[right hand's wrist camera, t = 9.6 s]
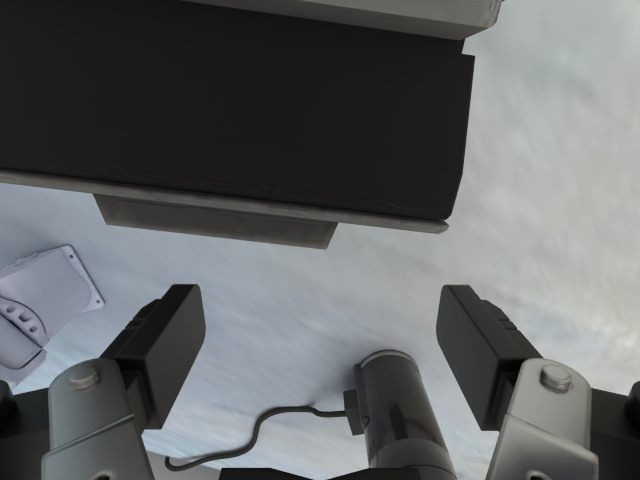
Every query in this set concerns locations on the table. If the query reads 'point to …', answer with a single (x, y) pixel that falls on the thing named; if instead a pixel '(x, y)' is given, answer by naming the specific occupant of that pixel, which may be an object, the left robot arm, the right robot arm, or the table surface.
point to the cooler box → (242, 111)
